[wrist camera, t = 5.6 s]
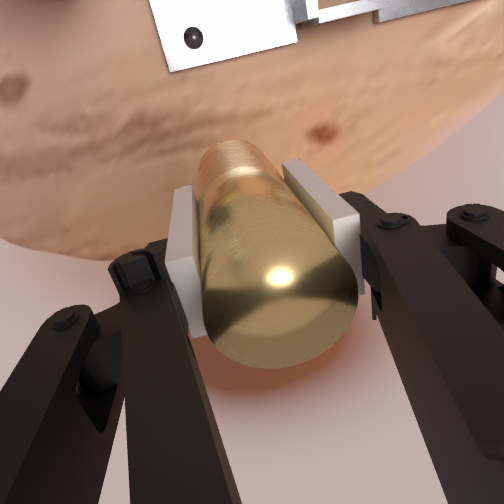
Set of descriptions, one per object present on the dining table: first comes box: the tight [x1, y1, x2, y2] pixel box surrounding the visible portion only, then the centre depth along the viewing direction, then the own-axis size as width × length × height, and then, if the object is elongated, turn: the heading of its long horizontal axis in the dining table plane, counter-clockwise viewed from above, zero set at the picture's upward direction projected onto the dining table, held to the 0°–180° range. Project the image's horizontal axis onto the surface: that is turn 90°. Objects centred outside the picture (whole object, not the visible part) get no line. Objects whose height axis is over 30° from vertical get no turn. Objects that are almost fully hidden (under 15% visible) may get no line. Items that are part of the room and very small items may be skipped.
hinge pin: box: [197, 140, 358, 369], centre depth 15 cm, size 4×4×12 cm
